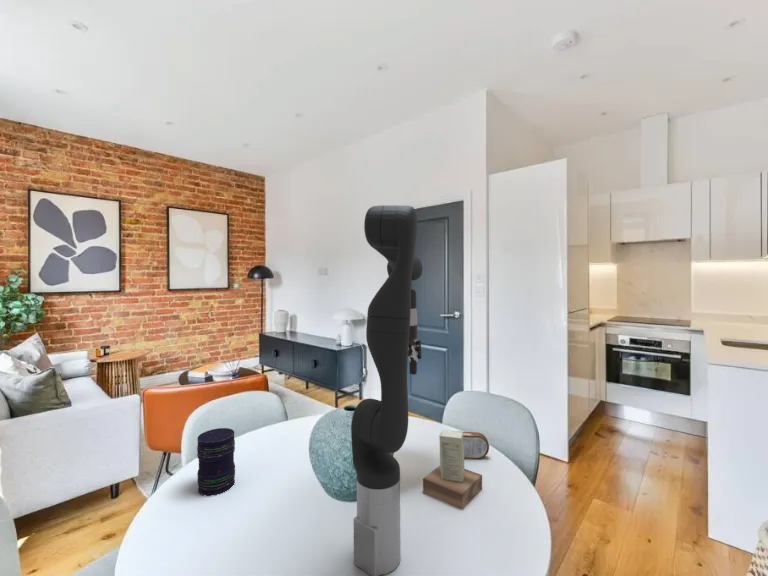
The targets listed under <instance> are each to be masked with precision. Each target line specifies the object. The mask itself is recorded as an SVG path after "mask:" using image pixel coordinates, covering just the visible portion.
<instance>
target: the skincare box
mask: <svg viewBox="0 0 768 576" xmlns="http://www.w3.org/2000/svg"><path fill="white" fill-rule="evenodd" d="M463 432H464V431H458V432H456V431H455V430H443V429H442V430H441V431H440V433H439V436H438V437H439V460H440V464H439V466H440V470H441V479H446V480H452V481H458V482H463V480H464V476H465V469H466V468H465V459H464V435H463Z"/></svg>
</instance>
